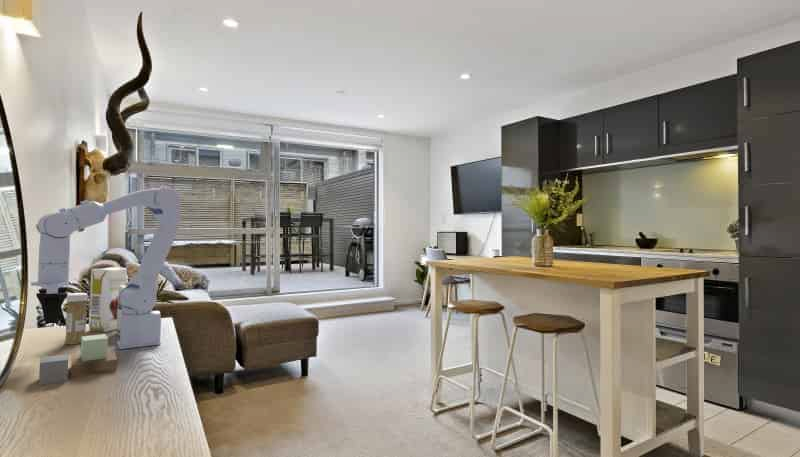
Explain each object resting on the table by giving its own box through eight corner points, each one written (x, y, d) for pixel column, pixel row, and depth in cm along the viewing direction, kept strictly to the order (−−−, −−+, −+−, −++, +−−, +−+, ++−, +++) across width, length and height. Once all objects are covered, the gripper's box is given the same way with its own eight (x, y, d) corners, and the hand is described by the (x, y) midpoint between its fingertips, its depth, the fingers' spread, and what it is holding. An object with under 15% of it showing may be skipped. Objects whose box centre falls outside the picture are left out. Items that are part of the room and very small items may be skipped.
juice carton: (84, 331, 128) (86, 268, 128) (107, 325, 137) (110, 266, 137) (105, 333, 127) (108, 269, 127) (128, 327, 135) (130, 267, 136)
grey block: (67, 375, 91) (68, 354, 91) (67, 381, 88) (68, 359, 88) (40, 378, 89) (41, 357, 89) (38, 385, 85) (39, 363, 85)
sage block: (104, 353, 99) (105, 334, 99) (107, 358, 96) (108, 338, 96) (80, 356, 96) (81, 336, 96) (82, 361, 93) (83, 340, 93)
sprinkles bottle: (85, 343, 115) (87, 294, 115) (63, 345, 113) (65, 295, 113) (86, 339, 119) (88, 292, 119) (65, 341, 116) (67, 292, 117)
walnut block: (113, 363, 101) (113, 350, 101) (116, 372, 95) (117, 359, 95) (71, 368, 96) (71, 355, 96) (71, 379, 90) (72, 365, 90)
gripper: (33, 261, 104) (31, 316, 104) (29, 266, 93) (27, 327, 93) (70, 260, 109) (67, 313, 109) (70, 265, 97) (67, 324, 97)
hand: (51, 320), depth 101 cm, fingers open, 7 cm apart
